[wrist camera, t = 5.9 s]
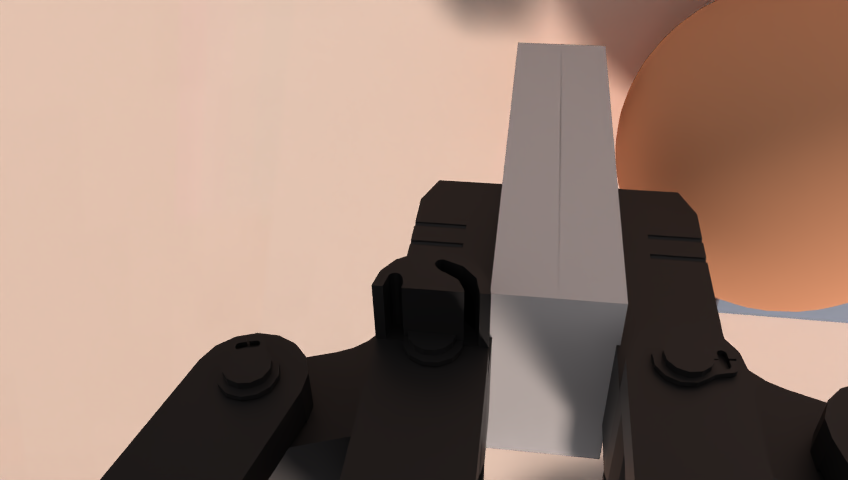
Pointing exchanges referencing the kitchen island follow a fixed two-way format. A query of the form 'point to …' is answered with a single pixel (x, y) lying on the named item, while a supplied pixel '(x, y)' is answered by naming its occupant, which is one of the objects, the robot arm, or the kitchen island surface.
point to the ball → (752, 145)
